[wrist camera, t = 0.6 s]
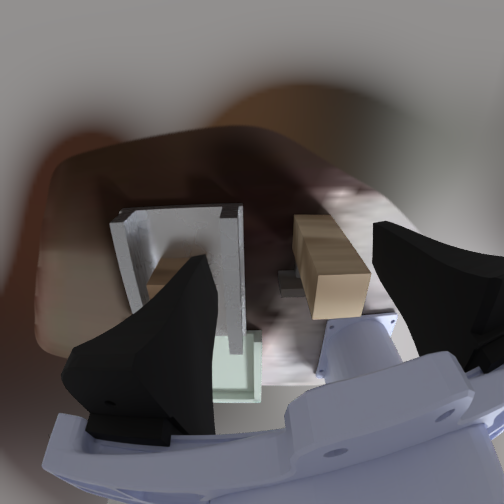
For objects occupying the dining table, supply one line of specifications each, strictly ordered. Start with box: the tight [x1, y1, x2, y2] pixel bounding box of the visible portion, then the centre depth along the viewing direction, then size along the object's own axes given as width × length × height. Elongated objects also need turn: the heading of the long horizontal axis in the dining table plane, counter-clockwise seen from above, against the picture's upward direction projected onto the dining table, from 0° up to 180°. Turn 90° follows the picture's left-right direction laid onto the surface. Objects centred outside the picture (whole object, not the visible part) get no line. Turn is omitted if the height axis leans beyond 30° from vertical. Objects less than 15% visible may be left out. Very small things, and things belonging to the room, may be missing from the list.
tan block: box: [278, 215, 371, 320], centre depth 20 cm, size 6×5×9 cm
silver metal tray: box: [110, 203, 246, 355], centre depth 23 cm, size 13×10×3 cm
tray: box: [212, 330, 262, 403], centre depth 30 cm, size 11×13×2 cm
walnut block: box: [146, 258, 190, 300], centre depth 22 cm, size 4×4×4 cm
